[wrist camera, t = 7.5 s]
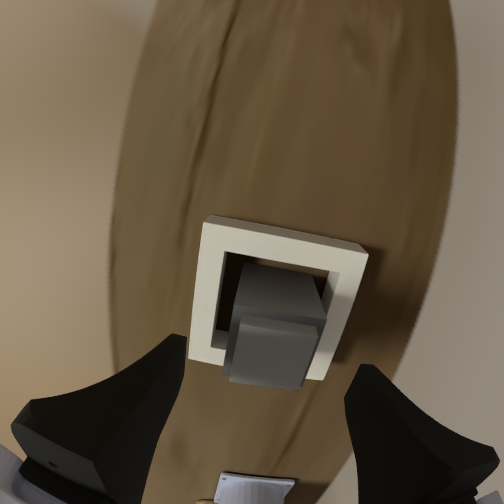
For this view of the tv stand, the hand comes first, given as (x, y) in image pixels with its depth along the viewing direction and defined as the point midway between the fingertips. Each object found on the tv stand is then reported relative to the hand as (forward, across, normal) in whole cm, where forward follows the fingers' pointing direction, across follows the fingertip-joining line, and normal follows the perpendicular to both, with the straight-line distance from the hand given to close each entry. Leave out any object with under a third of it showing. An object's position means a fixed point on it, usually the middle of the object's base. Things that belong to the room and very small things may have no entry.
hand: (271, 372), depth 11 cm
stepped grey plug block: (+7, 0, 0) cm, 7 cm away
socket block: (+7, 0, 0) cm, 7 cm away
